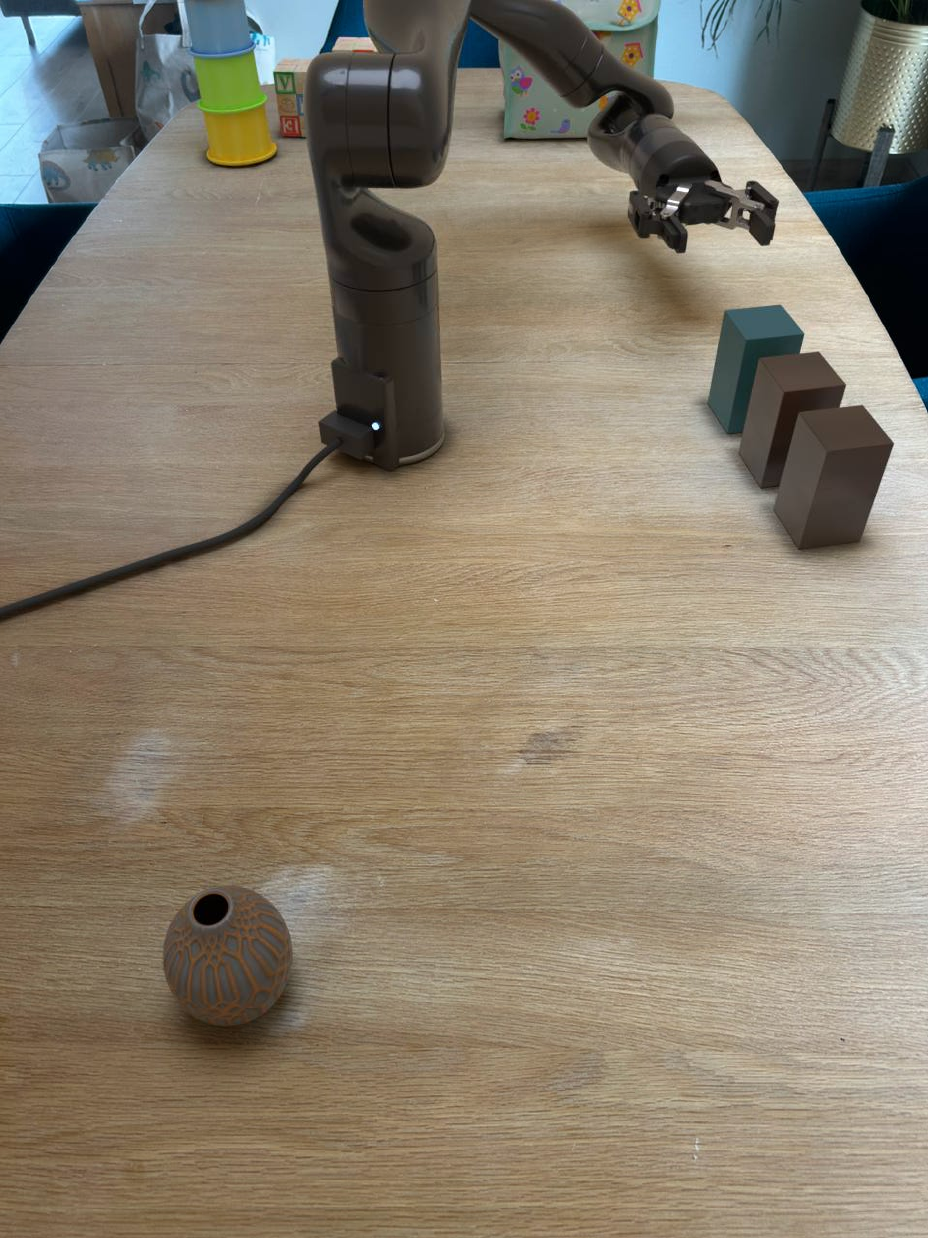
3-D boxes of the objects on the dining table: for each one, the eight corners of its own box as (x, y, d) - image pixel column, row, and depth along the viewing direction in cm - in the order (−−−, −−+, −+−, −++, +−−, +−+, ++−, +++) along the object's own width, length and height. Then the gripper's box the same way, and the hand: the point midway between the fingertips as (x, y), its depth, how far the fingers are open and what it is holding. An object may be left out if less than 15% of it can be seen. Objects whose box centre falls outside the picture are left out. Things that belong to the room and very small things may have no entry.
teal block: (781, 427, 96) (804, 333, 89) (726, 434, 95) (746, 339, 88) (760, 396, 100) (781, 303, 93) (707, 402, 99) (724, 309, 92)
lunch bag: (496, 146, 148) (498, -71, 129) (498, 107, 159) (500, -97, 140) (652, 146, 147) (677, -73, 128) (643, 107, 158) (665, -99, 139)
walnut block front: (860, 541, 84) (894, 443, 77) (798, 549, 84) (827, 451, 77) (832, 501, 88) (862, 404, 81) (773, 509, 87) (798, 411, 80)
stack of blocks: (280, 137, 152) (268, 47, 143) (290, 123, 156) (278, 34, 147) (420, 140, 150) (416, 49, 141) (425, 125, 154) (422, 36, 146)
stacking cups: (195, 165, 144) (136, -131, 120) (223, 139, 152) (172, -145, 127) (262, 170, 143) (216, -129, 118) (287, 144, 150) (248, -144, 125)
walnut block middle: (818, 481, 90) (846, 384, 83) (760, 488, 90) (783, 391, 82) (793, 446, 94) (819, 350, 87) (738, 452, 93) (758, 357, 86)
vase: (185, 934, 60) (151, 855, 54) (301, 923, 60) (280, 844, 54) (172, 1050, 55) (133, 978, 49) (298, 1037, 56) (274, 965, 49)
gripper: (612, 144, 104) (659, 207, 93) (742, 133, 106) (805, 194, 94) (606, 215, 109) (650, 283, 98) (730, 204, 111) (788, 270, 100)
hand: (726, 240), depth 96 cm, fingers open, 8 cm apart
